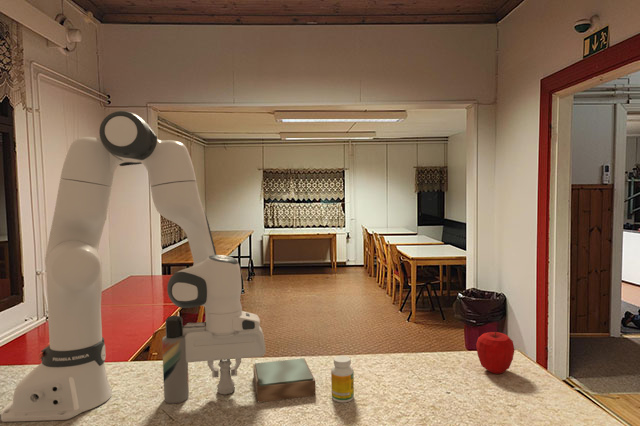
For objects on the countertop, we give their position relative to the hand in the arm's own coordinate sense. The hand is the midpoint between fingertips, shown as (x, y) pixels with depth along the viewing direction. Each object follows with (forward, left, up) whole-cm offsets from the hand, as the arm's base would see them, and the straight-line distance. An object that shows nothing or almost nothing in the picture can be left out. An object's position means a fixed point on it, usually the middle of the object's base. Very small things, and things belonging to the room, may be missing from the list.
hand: (224, 375), depth 107 cm
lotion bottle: (-11, 0, -4) cm, 12 cm away
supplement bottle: (+28, -10, -4) cm, 30 cm away
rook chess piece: (0, +1, -4) cm, 4 cm away
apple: (+72, -6, -4) cm, 72 cm away
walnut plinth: (+15, 0, -4) cm, 15 cm away
